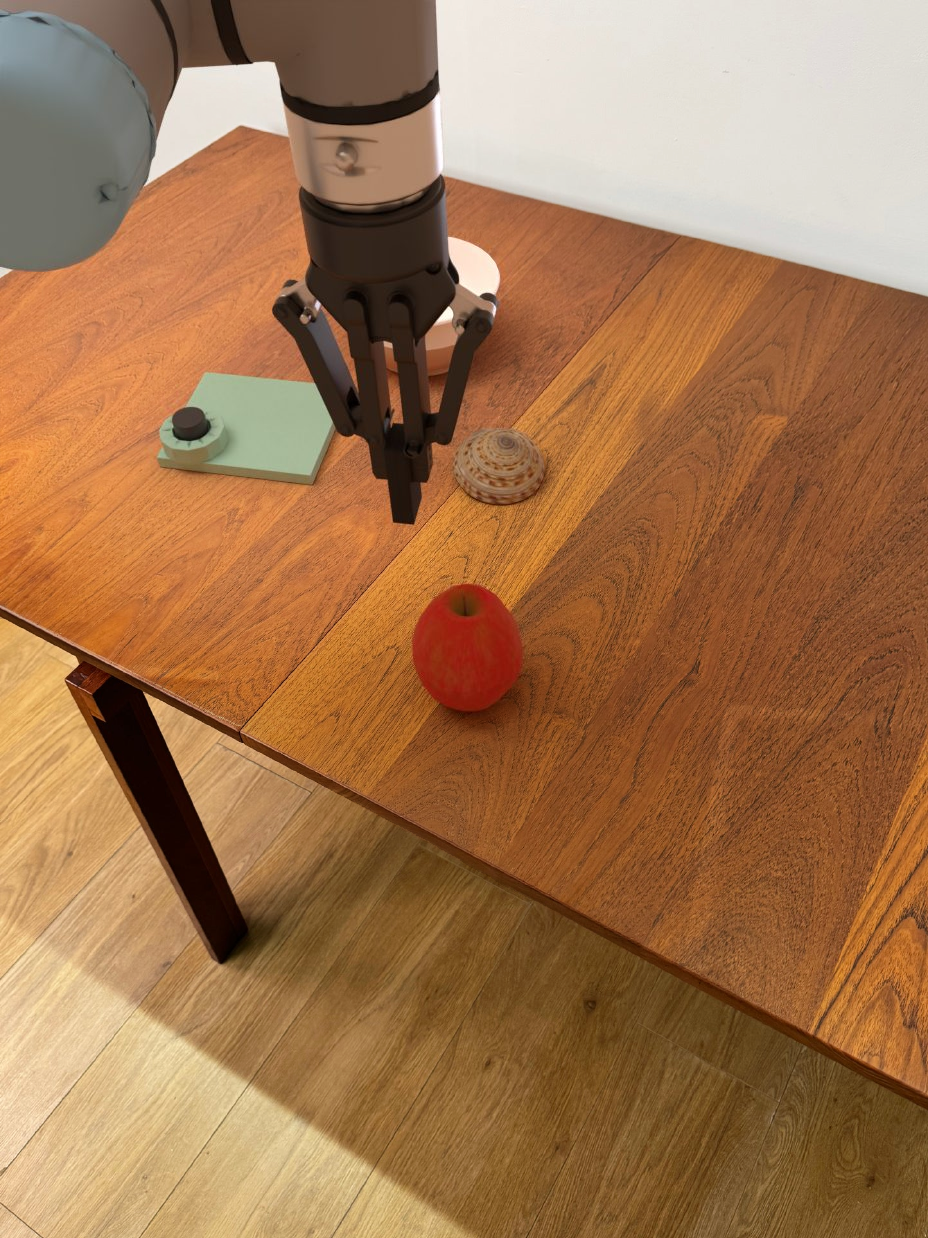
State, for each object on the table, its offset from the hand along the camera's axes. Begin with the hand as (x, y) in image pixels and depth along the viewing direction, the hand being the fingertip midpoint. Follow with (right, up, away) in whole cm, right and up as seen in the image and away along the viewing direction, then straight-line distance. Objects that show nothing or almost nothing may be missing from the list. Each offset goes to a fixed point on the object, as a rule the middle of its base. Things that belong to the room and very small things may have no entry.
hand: (407, 509), depth 69 cm
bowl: (0, +21, +36) cm, 42 cm away
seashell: (+7, +6, +23) cm, 25 cm away
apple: (+4, -13, +8) cm, 16 cm away
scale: (-16, +11, +28) cm, 34 cm away
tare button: (-21, +10, +24) cm, 34 cm away
